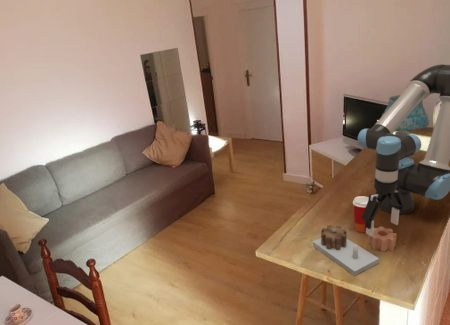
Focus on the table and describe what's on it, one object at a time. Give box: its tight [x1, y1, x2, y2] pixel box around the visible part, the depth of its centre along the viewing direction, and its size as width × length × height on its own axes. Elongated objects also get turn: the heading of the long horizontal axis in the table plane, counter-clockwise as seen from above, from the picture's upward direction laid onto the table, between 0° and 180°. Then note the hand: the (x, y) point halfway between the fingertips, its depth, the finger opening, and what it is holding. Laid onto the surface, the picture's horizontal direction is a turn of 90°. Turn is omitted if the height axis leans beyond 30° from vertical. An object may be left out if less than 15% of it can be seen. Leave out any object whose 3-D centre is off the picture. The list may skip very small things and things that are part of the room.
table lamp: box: [381, 94, 430, 136], centre depth 190 cm, size 24×24×40 cm
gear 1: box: [320, 225, 348, 250], centre depth 135 cm, size 10×10×6 cm
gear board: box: [312, 237, 380, 277], centre depth 131 cm, size 12×22×7 cm, turn 27°
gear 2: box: [368, 226, 397, 253], centre depth 134 cm, size 10×10×5 cm
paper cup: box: [352, 195, 369, 233], centre depth 143 cm, size 8×8×14 cm
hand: (382, 229), depth 132 cm, fingers open, 13 cm apart
